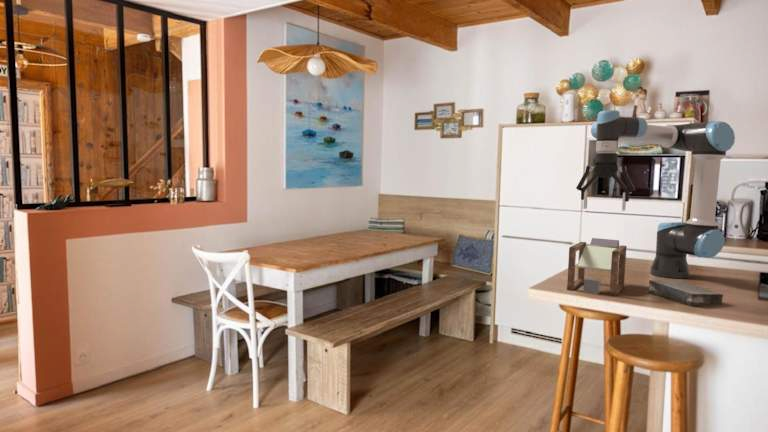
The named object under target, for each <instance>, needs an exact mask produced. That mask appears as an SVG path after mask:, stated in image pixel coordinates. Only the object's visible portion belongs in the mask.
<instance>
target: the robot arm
mask: <svg viewBox="0 0 768 432" xmlns="http://www.w3.org/2000/svg"><path fill="white" fill-rule="evenodd" d="M620 114H621V113H620V111H619V110H616V109H615V110H614V109H613V110H601V111H599V112H598V113H597V119H596V121H594V122H593V123H592V125H591V127H590V134H591V136H592V137H593V138H594V139H596V145H595V146H596V147H595V152H596V154H595V164H594V166H591V165H586V167H585V171H584V173H583V175H582V176H581V179H580V180H579V183H578V184H577V185H576V188H575V189H576V190H577V191H580V192H581V193H580V199H581V200H582V201H583V205H582V206H583V210H586V209H588V192H589V191H586V190H588V189H589V187H591V185H592V184H593V183H595V181H596V180H597V179H598V178H601V179H602V178H603V179H604V178H606V179H611V178H613V180H615V182H617V185H618V186H620V188H621V189H622V191H624V192H623V193H622V204H621V205H622V206H621V211H626V204H627V202H628V203H629V201H630V193H632V192H634V191H636V188H635V186H634V184H633V182H632V180H631V178H630V175H629V174H628V171H627V166H626V165H622V166H618V157H619V156H618V153H617V152H618V151H619V141H627V142H632V143H633V142H636V143H643V144H644V143H645V144H653V145H660V146H661V147H662V148H666V149H672V150H673V149H674V150H679V151H683V152H691V157H692V158H693V159H694V160H695V161H694V162H695V164H694V175H693V184H692V194H691V206H690V215H689V219H688V220H687V221H683V222H682V221H681V222H680V221H679V222H677V221H676V222H674V221H673V222H660V223H659V224H658V226H657V231H656V246H655V247H656V248H655V257H654V260H653V261H652V263H651V266H650V270H649V273H650V274H651V275H654V276H658V277H663V278H669V279H688V278H690V275H691V271H690V267H689V263H688V260H687V255H689V256H695V257H698V258H705V259H707V258H709V259H710V258H713V257H716V256H717V255H718V254H719V253H720V252H721V251H722V249H724V245H725V235H724V233H723V232H722V231H721V230H719V226H720V225H719V223H718V222H717V221H716V220H715V219H716V212H717V211H716V210H717V199H718V190H719V182H720V181H719V179H720V169H721V160H722V159H724V158H725V157H726V155H727V152H728V151H729V150H731V149H732V147H733V146H734V144H735V139H736V137H735V136H736V135H735V132H734V129H733V128H732V127H731V125H730V124H729V123H727V122H725V121H720V120H719V121H716V120H713V121H712V120H711V121H704V122H692V123H691V122H690V123H684V124H666V125H665V126H664V125H656V124H655V125H654V124H649V123H648V122H647V120H646V119H645V118H644V117H638V116H621V115H620ZM593 171H594V172H595V174H593V176H592V178H590V179H589V180H588V181H587V183H586V184H585V185H584V183H585V182H586V180H587V178H588V176H589V175H590V173H591V172H593ZM618 171H620V172H621V173H622V175H623V177H624V179H625V182H626V184H627V185H626V184H625V183H624V182H623V181H622V180H621V178H620V177H619V176H618V174H616V173H617V172H618ZM583 185H584V186H583ZM627 186H628V187H627Z"/></svg>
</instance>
